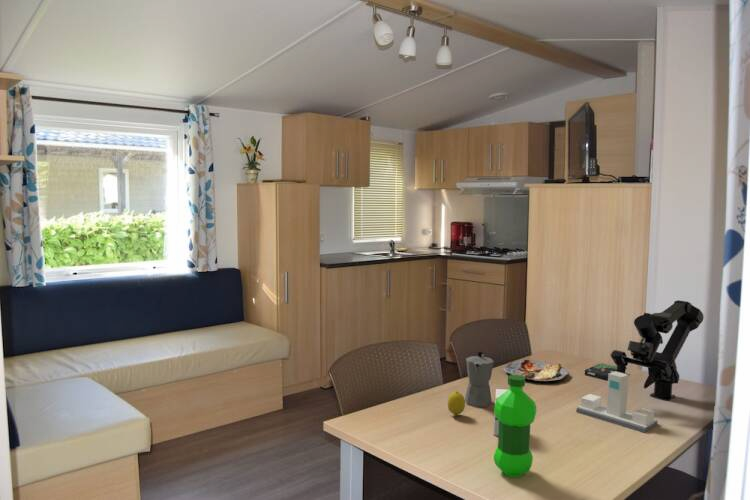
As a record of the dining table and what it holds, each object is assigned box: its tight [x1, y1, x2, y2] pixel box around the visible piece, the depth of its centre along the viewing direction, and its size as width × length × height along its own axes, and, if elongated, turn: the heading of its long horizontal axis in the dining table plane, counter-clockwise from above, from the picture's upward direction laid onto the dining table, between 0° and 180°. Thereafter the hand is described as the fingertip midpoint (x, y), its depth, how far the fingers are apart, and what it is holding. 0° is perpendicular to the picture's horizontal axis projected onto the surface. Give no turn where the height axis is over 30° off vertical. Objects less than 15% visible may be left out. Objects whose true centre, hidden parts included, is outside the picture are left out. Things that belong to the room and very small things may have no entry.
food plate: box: [503, 359, 569, 383], centre depth 231 cm, size 25×23×4 cm
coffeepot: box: [464, 350, 495, 408], centre depth 199 cm, size 15×9×18 cm, turn 163°
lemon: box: [447, 390, 466, 417], centre depth 186 cm, size 6×6×8 cm
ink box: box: [493, 388, 509, 437], centre depth 174 cm, size 9×5×12 cm, turn 168°
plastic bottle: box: [493, 374, 537, 478], centre depth 148 cm, size 10×10×25 cm
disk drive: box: [584, 363, 626, 382], centre depth 233 cm, size 10×3×15 cm
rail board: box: [576, 393, 659, 434], centre depth 187 cm, size 10×22×4 cm, turn 43°
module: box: [606, 371, 629, 417], centre depth 186 cm, size 5×4×13 cm
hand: (630, 384), depth 191 cm, fingers open, 9 cm apart
